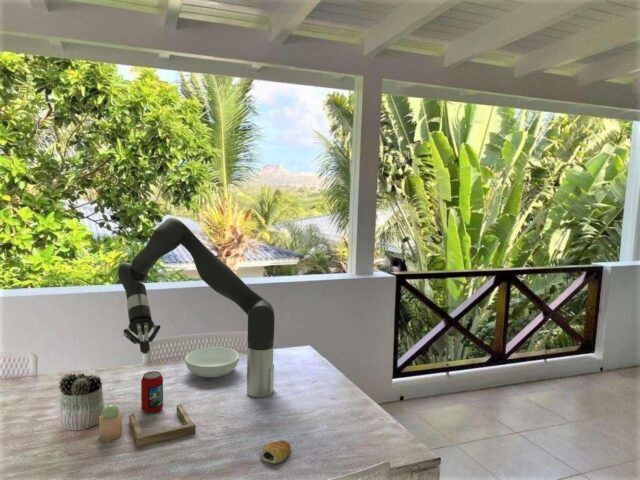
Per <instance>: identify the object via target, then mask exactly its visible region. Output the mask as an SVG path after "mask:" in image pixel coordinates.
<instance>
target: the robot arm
mask: <svg viewBox="0 0 640 480" xmlns="http://www.w3.org/2000/svg"><path fill="white" fill-rule="evenodd" d="M180 245H182V247H184V249H186V251H187V252H188V253H189V254H190V256H191V258H192V259H193V262H194V263H193V264H194V265H195V268H196V271H197V273H198V275H199V277H200V279H201V280H202V281H203V282H204V283H205V284H206V285H208V286H209V287H210V289H212V290H213V291H215V292H216V293H217V294H220V295H221V296H223V297H225V298H226V299H228V300H230V301H232V302H233V303H235V304H236V305H237V306H238V307H240V309H241V310H242V311H243V312H244V313H245V314H246V315H247V355H246V359H247V360H246V361H247V362H246V365H247V366H246V394H247V395H248V396H250V397H252V398H266V397H271V396H272V394H273V392H274V386H275V385H274V381H275V380H274V379H275V377H274V376H275V374H274V372H275V364H274V343H275V311H274V307H273V306H272V304H271V303H270V302H269V301H268V300H266V299H265V298H263V297H262V296H260V295H259V294H258V293H256V292H255V291H254V290H252V289H251V288H250V287H249V286H248V285H247V284H246V283H245V282H244V280H242V279H241V278H240V277H239V276H238V275H237V274H236V273H235V272H234V271H233V270H232V269H231V267H229V266H228V265H227V264H226V263H225V262H223V261H222V260H221V259H220V258H219V257H217V256H216V255H215V254H214V253H213V252H212V251H211V250H210V249H209V248H208V247H207V246H205V245H204V244H203V242H202V241H201V240H200V239H199V238H198V237H197V236H196V235H195V233H193V232H192V230H191V229H190V228H189V227H188V226H187V225H186V224H185V223H183V221H181V220H179V219H178V218H176V217H169V218H167V219H165V220H164V221H163V222H162V223H161V224H160V225H159V226H158V227H156V228H155V229H154V230H153V232H152V234H151V236H150V237H149V240H148V242H147V243H146V246H145V247H144V248H142V249H141V250H140V251H139V252H138V253H137V254H136V255H135V256H134V257H133V258H132V260H131V262H124V263H122V264H120V265H119V266H118V270H117V274H118V275H117V276H118V279H119V281H120V284H121V285H122V287H123V289H124V291H125V297H126V307H127V309H126V310H127V314H128V321H129V323H128V327H127V328H125V329H124V330H123V332H122V334H123V336H124V337H125V338H127V340H129V341H130V342H131V343H132V344H134V345H137V344H138V345H139V349H140V353H142V355H145V354H148V353H149V352H150V343H152V342H153V341H154V339H155V338H156V337H157V334H158V333H159V332H160V329H161V325H156V324H155V323H154V321H153V318H152V313H151V309H150V308H151V307H150V306H151V305H150V301H149V298H148V295H147V288H146V286H145V283H144V282H145V281H146V280H147V279H148V275H149V272H150V270H151V269H152V268H153V267H154V266H155V265H156V264H157V262H159V259H161V258H162V257H163V256H165V255H168V254H169V253H170V252H172V251H174V250H176V249H177V248H178V247H179V246H180ZM142 282H143V283H144V284H143V283H142ZM151 331H152V333H151V334H150V332H151ZM149 334H150V336H149Z"/></svg>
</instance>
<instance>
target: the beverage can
mask: <svg viewBox="0 0 640 480" xmlns="http://www.w3.org/2000/svg"><path fill="white" fill-rule="evenodd" d="M140 391H141V392H140V393H141V394H140V396H141V399H140V400H141V402H140V405H141V407H140V408H141V411H143V412H145V413H147V414H154V413H157V412H159V411H160V410H162V409H163V407H164V377H163V375H162V374H161V372H160V371H156V370H155V371H153V370H152V371H151V370H150V371H147V372H145V373H144V374H143V376H142V378H141V381H140Z"/></svg>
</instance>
